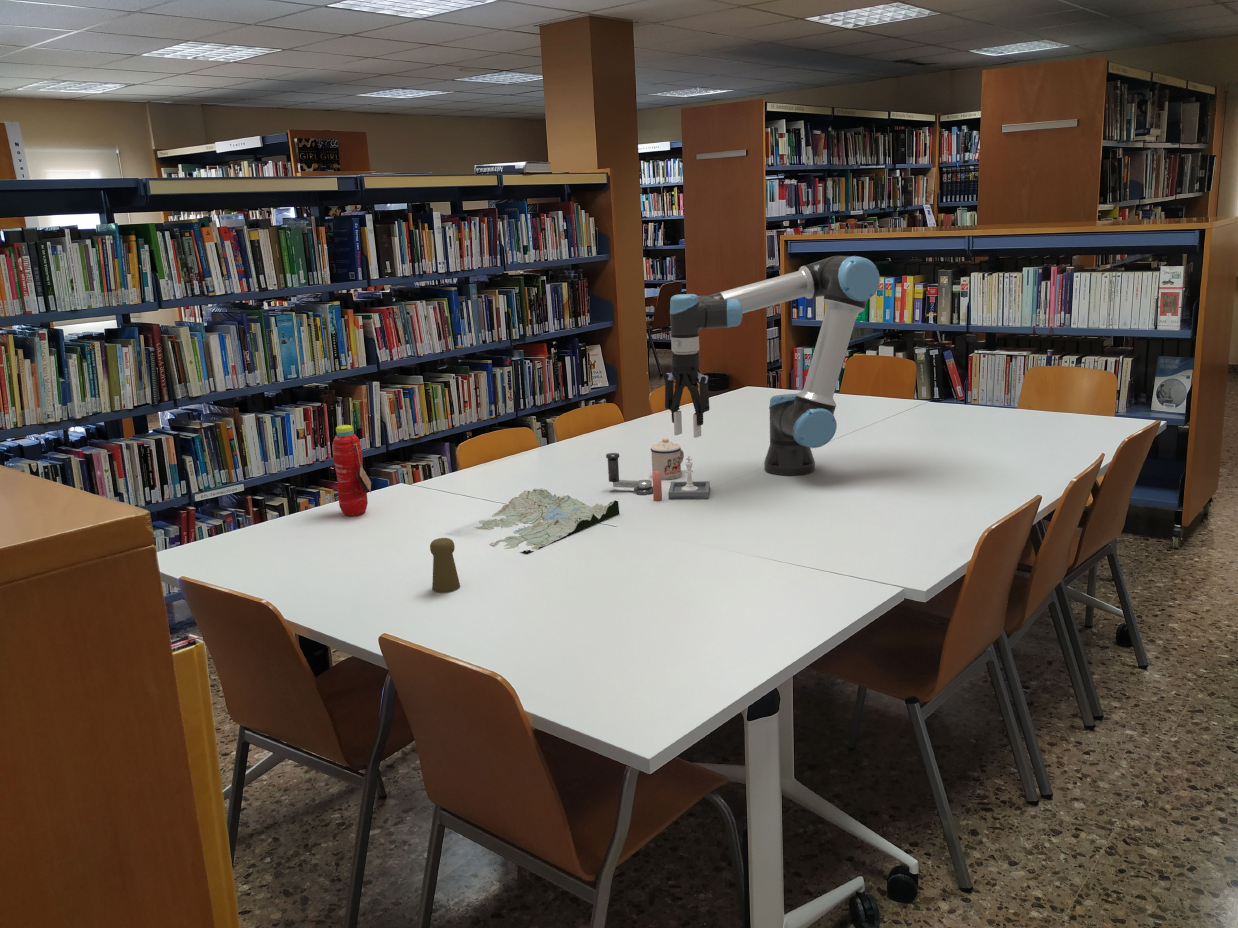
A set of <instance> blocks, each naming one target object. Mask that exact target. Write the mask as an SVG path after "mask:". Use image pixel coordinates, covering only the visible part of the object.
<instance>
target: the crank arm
mask: <svg viewBox="0 0 1238 928" xmlns="http://www.w3.org/2000/svg"><path fill="white" fill-rule="evenodd" d="M605 458H606V459H607V472H608V482H610V483H612V487H613V488H624V489H625V488H631V489H634V488H637V489H650V488H652V487H653V480H650V479H640V480H633V479H632V480H631V479H627V480H625V479H620V472H619V470H620V469H619V459H620V453H619V452H611V453H606V454H605Z"/></svg>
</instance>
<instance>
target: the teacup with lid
mask: <svg viewBox="0 0 1238 928" xmlns="http://www.w3.org/2000/svg"><path fill="white" fill-rule="evenodd" d="M650 452H651V472H653V471H661V480H665V481H666V480H667V481H668V480H674V479H677V478H680V477H681V476H682V475H681V474H682V466H681V464H682V463H683V461H684V457H685V454H684V450H682V448H681V445H679V444H677V443H674V442H672V441H671V440H669V438H667V437H664V438H662V439H661V441H659V442H658V443H657V444H653V445H651V447H650Z"/></svg>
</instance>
